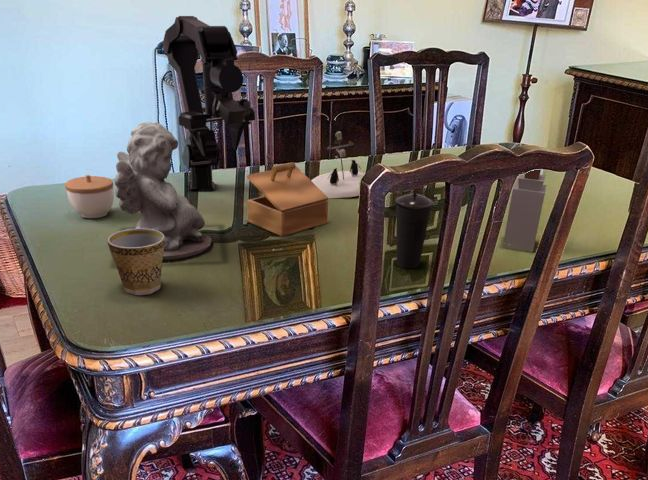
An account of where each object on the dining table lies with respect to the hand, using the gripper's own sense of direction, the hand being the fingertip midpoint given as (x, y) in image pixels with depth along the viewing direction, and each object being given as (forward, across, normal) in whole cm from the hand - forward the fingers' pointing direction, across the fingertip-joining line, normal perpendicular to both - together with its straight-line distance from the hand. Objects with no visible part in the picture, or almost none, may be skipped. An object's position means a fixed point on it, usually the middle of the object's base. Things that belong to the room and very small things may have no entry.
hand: (220, 153), depth 158 cm
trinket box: (+13, -29, +13) cm, 34 cm away
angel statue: (+13, -25, -16) cm, 32 cm away
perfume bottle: (+13, +36, -66) cm, 76 cm away
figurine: (+13, +34, -10) cm, 38 cm away
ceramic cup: (+13, -40, -30) cm, 52 cm away
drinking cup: (+13, +7, -56) cm, 58 cm away
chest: (+13, +4, -21) cm, 25 cm away
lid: (+5, +4, -21) cm, 22 cm away
